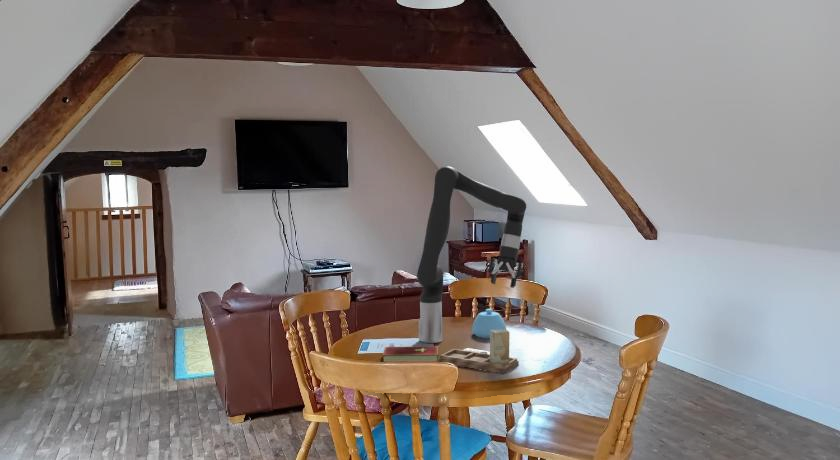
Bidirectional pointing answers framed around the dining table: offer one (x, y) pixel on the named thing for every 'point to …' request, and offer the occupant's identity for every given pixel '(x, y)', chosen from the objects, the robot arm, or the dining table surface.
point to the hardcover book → (411, 353)
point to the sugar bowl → (487, 323)
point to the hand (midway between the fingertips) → (502, 285)
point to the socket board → (476, 361)
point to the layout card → (477, 350)
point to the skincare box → (499, 346)
